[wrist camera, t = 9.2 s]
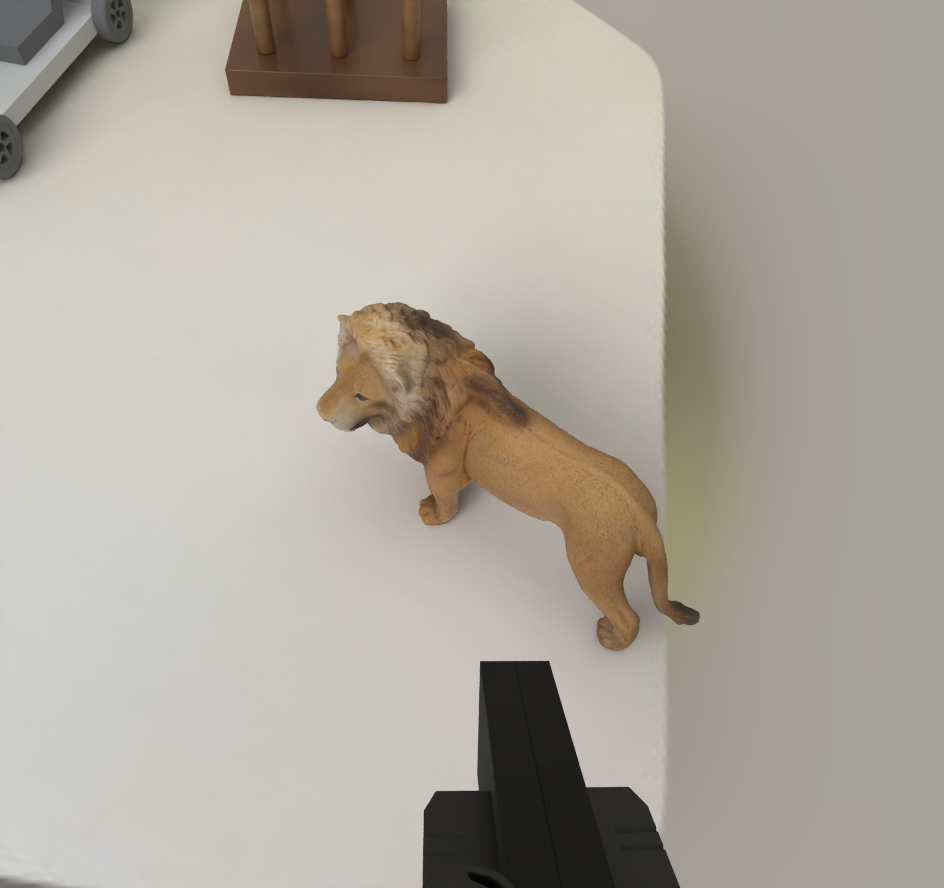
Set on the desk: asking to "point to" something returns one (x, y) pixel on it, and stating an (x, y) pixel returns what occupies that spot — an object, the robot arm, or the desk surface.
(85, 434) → the desk surface
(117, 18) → the toy car
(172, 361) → the desk surface
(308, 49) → the walnut rack
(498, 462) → the lion figurine
